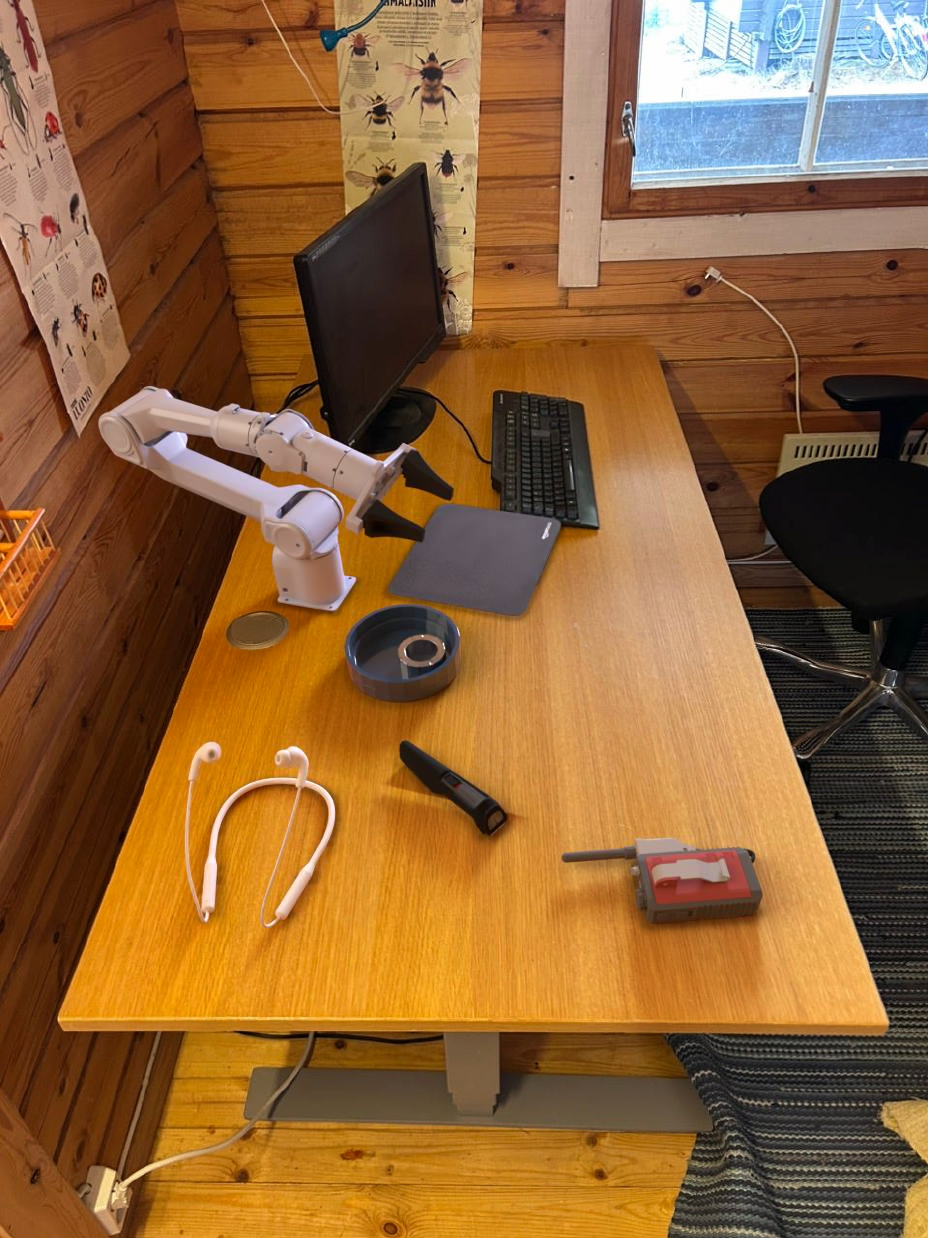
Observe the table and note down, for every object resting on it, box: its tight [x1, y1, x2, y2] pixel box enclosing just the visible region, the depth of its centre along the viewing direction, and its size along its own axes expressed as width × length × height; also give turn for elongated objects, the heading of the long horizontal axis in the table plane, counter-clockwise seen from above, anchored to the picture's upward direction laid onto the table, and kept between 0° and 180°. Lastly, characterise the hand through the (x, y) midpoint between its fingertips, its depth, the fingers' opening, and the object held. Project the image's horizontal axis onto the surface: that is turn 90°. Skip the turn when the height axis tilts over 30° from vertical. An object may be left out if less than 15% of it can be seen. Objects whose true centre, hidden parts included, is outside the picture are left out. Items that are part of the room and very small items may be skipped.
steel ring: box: [397, 634, 446, 678], centre depth 114 cm, size 6×6×3 cm
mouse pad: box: [387, 503, 562, 617], centre depth 133 cm, size 25×21×1 cm
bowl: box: [343, 603, 462, 703], centre depth 115 cm, size 15×15×4 cm
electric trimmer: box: [398, 739, 508, 837], centre depth 99 cm, size 4×16×3 cm, turn 45°
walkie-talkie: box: [561, 837, 764, 924], centre depth 88 cm, size 9×4×20 cm
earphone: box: [184, 741, 336, 929], centre depth 93 cm, size 14×17×18 cm
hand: (438, 515), depth 109 cm, fingers open, 7 cm apart
